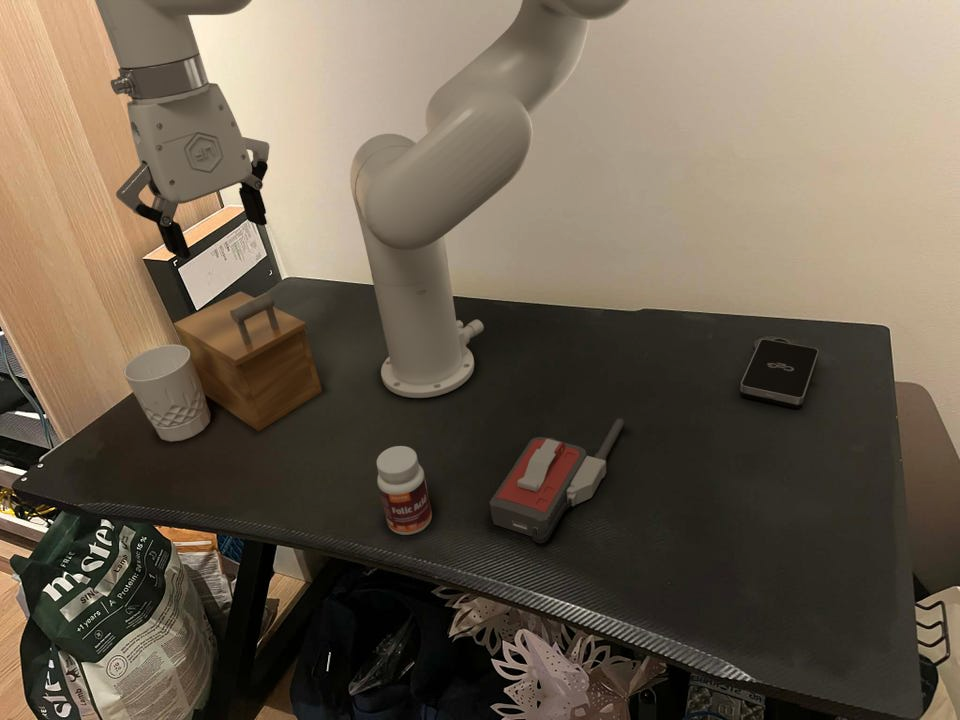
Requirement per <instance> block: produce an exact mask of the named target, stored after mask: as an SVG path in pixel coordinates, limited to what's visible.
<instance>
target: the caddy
mask: <svg viewBox="0 0 960 720" xmlns="http://www.w3.org/2000/svg"><path fill="white" fill-rule="evenodd" d="M175 331H176V334H177V336H178V338H179V341H180V343H181V344H180V345H182V346H185V347H187V348H188V349H189V350H190V353H191V356H192V359H193V362H194V365H195V367H196V370H197V373H198V376H199V379H200V382H201V385H202V389H203V391H204V394H205V397H206V398H209V399H210V400H212V401H213V402H215V404H218V405H219V406H221V407H222V408H223V409H224V410H226V411H227V412H229V413H231V414H232V415H234V416H235V417H237V418H238V419H240V420H241V421H242V422H244V423H245V424H247V425H248V426H250V427H251V428H253V429H254V430H255V431H257V432H260V431H262V430H264V429H265V428H267V427H268V426H269V425H271V424H273V423H275V422H276V421H278V420H280V419H281V418H282V417H284V416H286V415H288V414H290V413H291V412H293V411H294V410H295V409H297V408H299V407H301V406H302V405H304V404H305V403H307V402H309V401H310V400H312V399H313V398H315V397H316V396H318V395H319V394H321V393H323V388H322V384H321V382H320V381H321V380H320V379H319V375H318V372H317V368H316V365H315V361H314V358H313V354H312V351H311V347H310V344H309V340H308V336H307V333H306V330H305V329H304V330H302V331H300V332H298V333H296V334H295V335H293V336H291V337H289V338H287V339H286V340H284V341H282V342H280V343H278V344H276V345H275V346H273V347H271V348H269V349H267V350H266V351H264V352H262V353H260V354H258V355H256V356H255V357H253V358H251V359H249V360H247V361H246V362H244V363H242V364H240V365H238V366H237V365H235V364H233V363H232V362H230V361H228V360H227V359H225V358H223V357H222V356H220V355H218V354H217V353H215V352H213V351H212V350H210V349H208V348H207V347H205V346H203V345H202V344H200V343H198V342H197V341H195V340H193V339H192V338H190V337H188V336H187V335H185V334H183V333H182V332H180V331H178V330H177V329H175Z"/></svg>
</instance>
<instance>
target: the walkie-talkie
mask: <svg viewBox="0 0 960 720" xmlns="http://www.w3.org/2000/svg"><path fill="white" fill-rule="evenodd" d="M624 425H625V421H624V419H622V418H616V420H615V421H614V423H613V425H612V427H611V428H610V430H609V432H608V433H607V435H606V437H605V439H604V441H603V442H602V444H601V446H600V448H599V449H598V451H597V453H595V454H594V456H589V455H587V451H586V449H584V448H583V447H581V446H579V445H575V444H571V443H567V442H563V441H559V440H558V439H556V438H554V437H543V436H537V437H534V438H531V439H530V441H529V442H528V444H527V445H526V447H525V449H523V450H522V453H521V454H520V455H519V457H518V458H517V460H516V461H515V463H514V466H512V468H511V469H510V470H509V472H508V474H507V476H505V479H504V480H503V481H502V483H500V486H499V487H498V488H497V490H496V492H495V493H493V497H491V499H490V500H489V501H488V502H489V509H490V516H491V521H492V523H493V525H495V526H498V527H501V528H504V529H507V530H511V531H513V532H516V533H520V534H521V535H522V534H523V535H526V536H529V537H531V538H532V540H533V541H534V542H535V543H537V544H543V543H546V541H548V540H549V539H550V537H551V535H552V533H553V532H554V530H555V528H556V527H557V525H558V523H559V521H560V519H561V518H562V516H563V514H564V512H565V511H566V510H567V509H569V508H570V507H575V506H577V505H578V504H581V503H583V502H586V501H587V500H589V499H590V500H591V498H593V496H594V494H595V492H596V491H597V488H598V487H599V485H600V483H601V481H602V479H604V478H605V477H606V475H607V457H608V456H609V453H610V451H611V449H612V447H613V446H614V444H615V442H616V440H617V438H618V436H619V434H620V432H621V430H622V429H623V427H624Z"/></svg>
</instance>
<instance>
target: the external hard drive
mask: <svg viewBox="0 0 960 720" xmlns="http://www.w3.org/2000/svg"><path fill="white" fill-rule="evenodd" d="M819 352H820V350H819V349H818V348H817V347H811V346H808V345H807V346H806V345H800V344H795V343H791V342H784V341H779V340H773V339H768V338H762V339H759V340H758V343H757V345H756V347H755V350H754V352H753V355H752V357H751V359H750V361H749V363H748V366H747V368H746V370H745V373H744V374H743V376H742V379H741V381H740V386H739V394H740V397H743V398H746V399H750V400H755V401H759V402H764V403H769V404H773V405H776V406H777V405H778V406H783V407H787V408H792V409H800V408H802V407H803V404H804V401H805V399H806V395H807V392H808V389H809V386H810V382H811V381H812V377H813V373H814V371H815V368H816V365H817V362H818V358H819Z"/></svg>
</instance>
